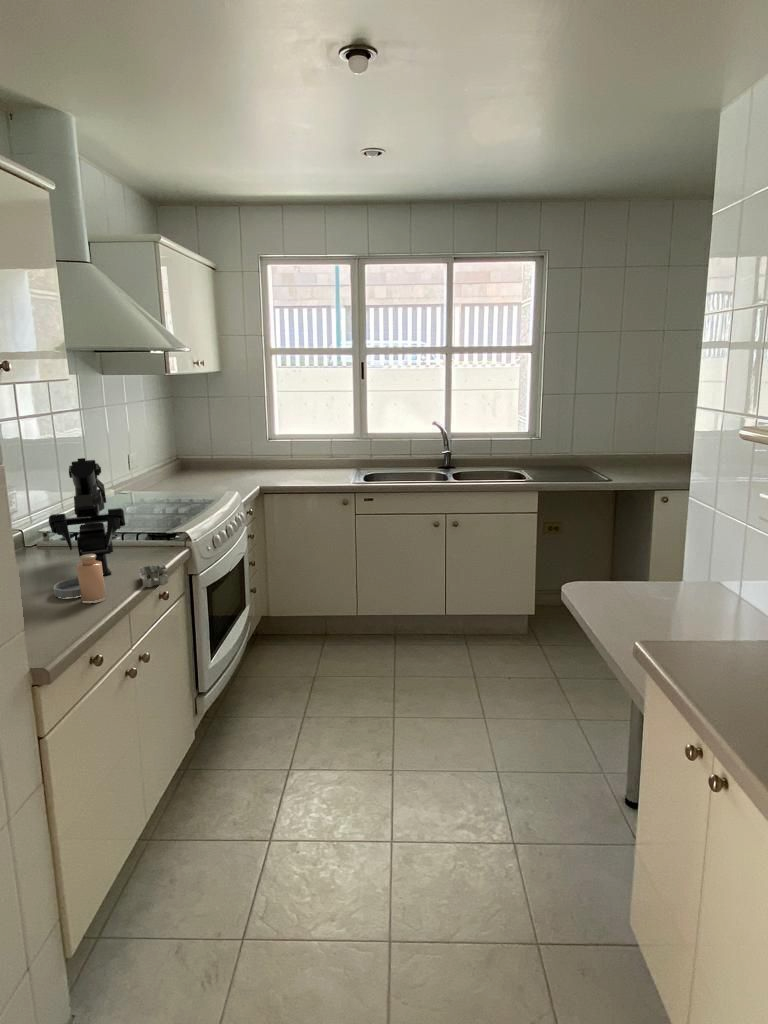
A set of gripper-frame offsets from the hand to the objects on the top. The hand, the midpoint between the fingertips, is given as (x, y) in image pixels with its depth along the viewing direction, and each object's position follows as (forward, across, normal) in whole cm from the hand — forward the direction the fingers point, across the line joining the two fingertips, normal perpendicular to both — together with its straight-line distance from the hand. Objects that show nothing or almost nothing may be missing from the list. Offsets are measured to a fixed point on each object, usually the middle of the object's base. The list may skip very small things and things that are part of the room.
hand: (89, 547), depth 180 cm
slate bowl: (+8, -5, +10) cm, 14 cm away
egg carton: (+7, +15, +12) cm, 21 cm away
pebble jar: (+14, 0, +5) cm, 14 cm away
